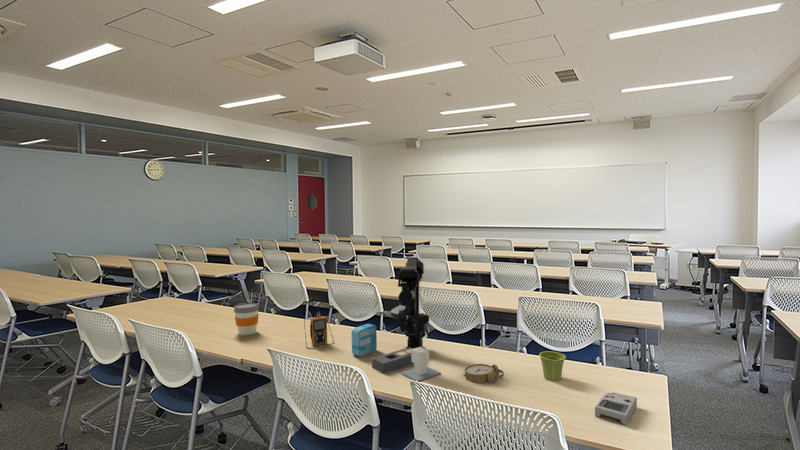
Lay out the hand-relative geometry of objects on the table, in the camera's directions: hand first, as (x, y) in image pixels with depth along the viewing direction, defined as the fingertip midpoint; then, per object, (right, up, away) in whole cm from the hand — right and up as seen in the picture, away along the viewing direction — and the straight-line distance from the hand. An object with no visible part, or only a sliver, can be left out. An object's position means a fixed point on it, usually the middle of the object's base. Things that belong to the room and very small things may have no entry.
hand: (409, 335), depth 174 cm
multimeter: (-42, -12, +26) cm, 51 cm away
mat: (+4, -13, -9) cm, 17 cm away
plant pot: (+54, -12, -16) cm, 57 cm away
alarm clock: (+28, -13, -14) cm, 34 cm away
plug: (+4, -12, -9) cm, 16 cm away
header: (-5, -13, +1) cm, 14 cm away
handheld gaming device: (+64, -14, -42) cm, 78 cm away
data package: (-20, -13, +16) cm, 29 cm away
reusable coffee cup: (-86, -12, +50) cm, 101 cm away
